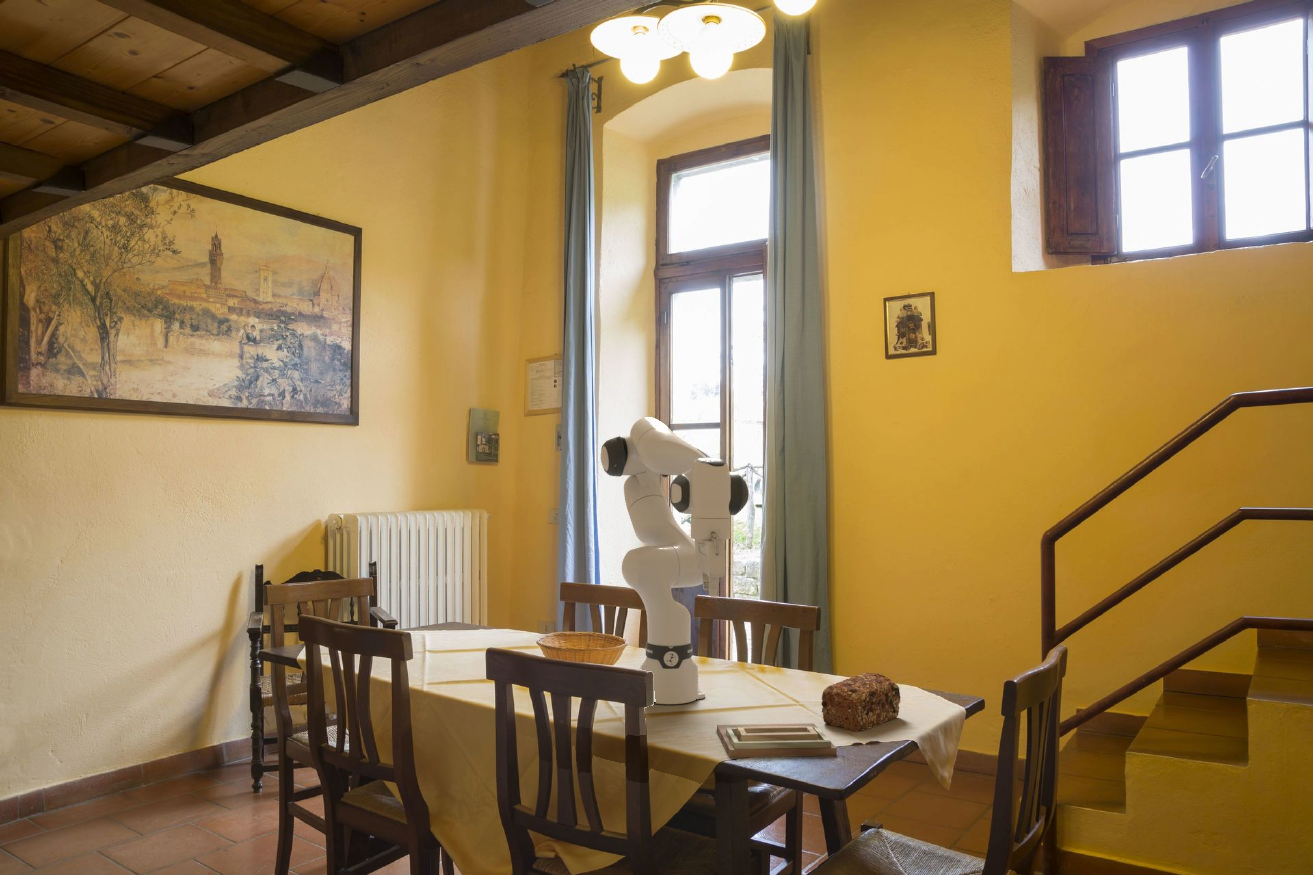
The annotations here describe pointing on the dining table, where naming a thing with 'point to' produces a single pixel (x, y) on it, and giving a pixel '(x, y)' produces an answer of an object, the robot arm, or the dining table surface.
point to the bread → (861, 702)
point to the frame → (776, 733)
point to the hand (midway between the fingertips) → (710, 593)
